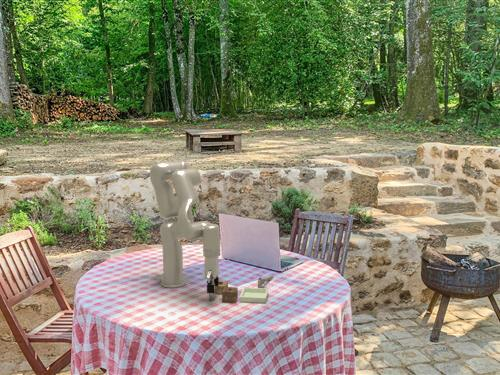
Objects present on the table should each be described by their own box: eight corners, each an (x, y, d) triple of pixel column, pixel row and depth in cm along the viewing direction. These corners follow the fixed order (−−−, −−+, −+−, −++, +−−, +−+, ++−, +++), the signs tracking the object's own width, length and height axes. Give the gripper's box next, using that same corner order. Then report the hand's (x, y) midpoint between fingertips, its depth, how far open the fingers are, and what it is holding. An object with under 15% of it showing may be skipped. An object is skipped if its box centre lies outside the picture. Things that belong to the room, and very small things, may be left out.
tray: (239, 302, 220) (239, 296, 220) (243, 292, 232) (243, 287, 231) (265, 303, 219) (265, 298, 219) (268, 293, 230) (268, 288, 230)
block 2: (222, 302, 220) (222, 291, 219) (224, 297, 226) (224, 286, 225) (235, 303, 219) (235, 292, 219) (237, 297, 225) (237, 287, 225)
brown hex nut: (209, 293, 230) (209, 285, 230) (212, 288, 238) (212, 280, 237) (225, 294, 229) (225, 286, 229) (228, 288, 237) (227, 280, 236)
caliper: (259, 291, 234) (259, 278, 233) (257, 291, 234) (257, 278, 233) (273, 277, 253) (274, 265, 252) (271, 277, 253) (271, 265, 252)
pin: (208, 301, 222) (208, 284, 220) (210, 299, 224) (209, 282, 223) (214, 301, 222) (213, 284, 220) (215, 299, 224) (215, 282, 223)
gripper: (207, 246, 228) (208, 282, 230) (198, 257, 211) (200, 296, 213) (223, 247, 227) (224, 283, 229) (216, 257, 210) (217, 296, 212)
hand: (212, 289), depth 221 cm, fingers open, 9 cm apart
